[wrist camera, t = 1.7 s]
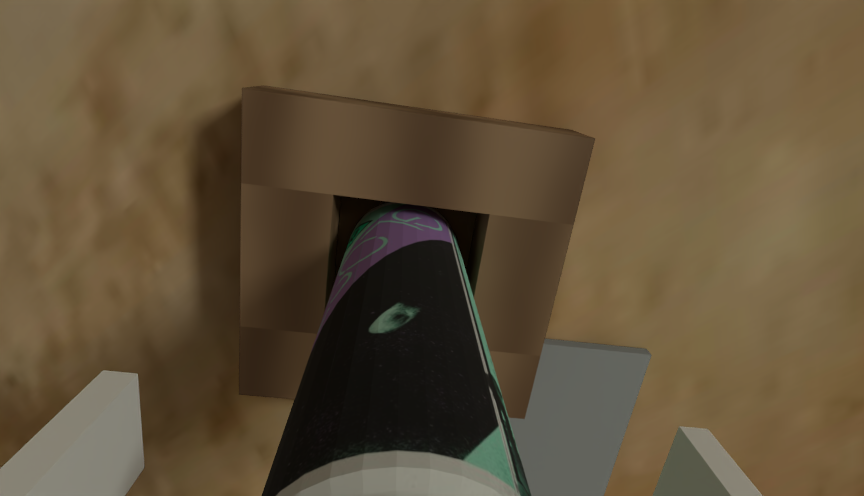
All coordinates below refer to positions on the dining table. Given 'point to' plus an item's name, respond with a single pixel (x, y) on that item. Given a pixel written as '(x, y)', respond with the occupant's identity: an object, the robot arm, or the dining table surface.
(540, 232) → the eye block
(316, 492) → the spray can
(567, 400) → the slate tile
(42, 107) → the dining table surface
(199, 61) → the dining table surface
